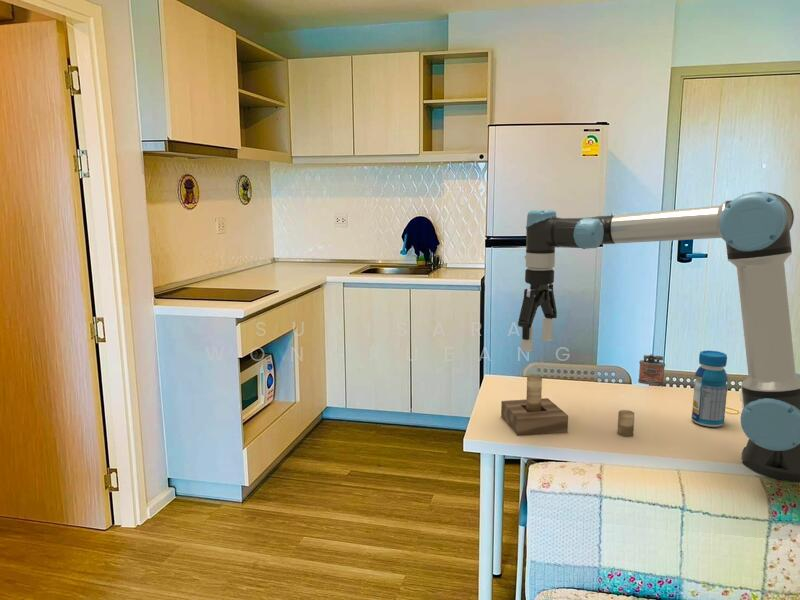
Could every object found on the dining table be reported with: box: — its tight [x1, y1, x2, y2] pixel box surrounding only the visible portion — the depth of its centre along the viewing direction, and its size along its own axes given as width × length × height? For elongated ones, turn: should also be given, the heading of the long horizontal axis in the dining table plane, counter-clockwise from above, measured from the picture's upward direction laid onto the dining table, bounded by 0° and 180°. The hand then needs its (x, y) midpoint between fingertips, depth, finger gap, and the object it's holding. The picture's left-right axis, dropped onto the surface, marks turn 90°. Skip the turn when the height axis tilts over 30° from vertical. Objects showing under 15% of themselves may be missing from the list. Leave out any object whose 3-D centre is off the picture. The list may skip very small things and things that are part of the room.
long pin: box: [525, 374, 543, 412], centre depth 164 cm, size 4×4×14 cm
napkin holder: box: [739, 383, 744, 409], centre depth 178 cm, size 15×11×6 cm
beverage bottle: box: [691, 350, 729, 428], centre depth 164 cm, size 8×8×20 cm
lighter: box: [637, 353, 666, 387], centre depth 200 cm, size 8×3×10 cm, turn 62°
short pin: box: [616, 409, 635, 438], centre depth 158 cm, size 4×4×6 cm
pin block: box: [500, 397, 569, 437], centre depth 164 cm, size 14×14×5 cm
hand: (537, 346), depth 161 cm, fingers open, 13 cm apart
